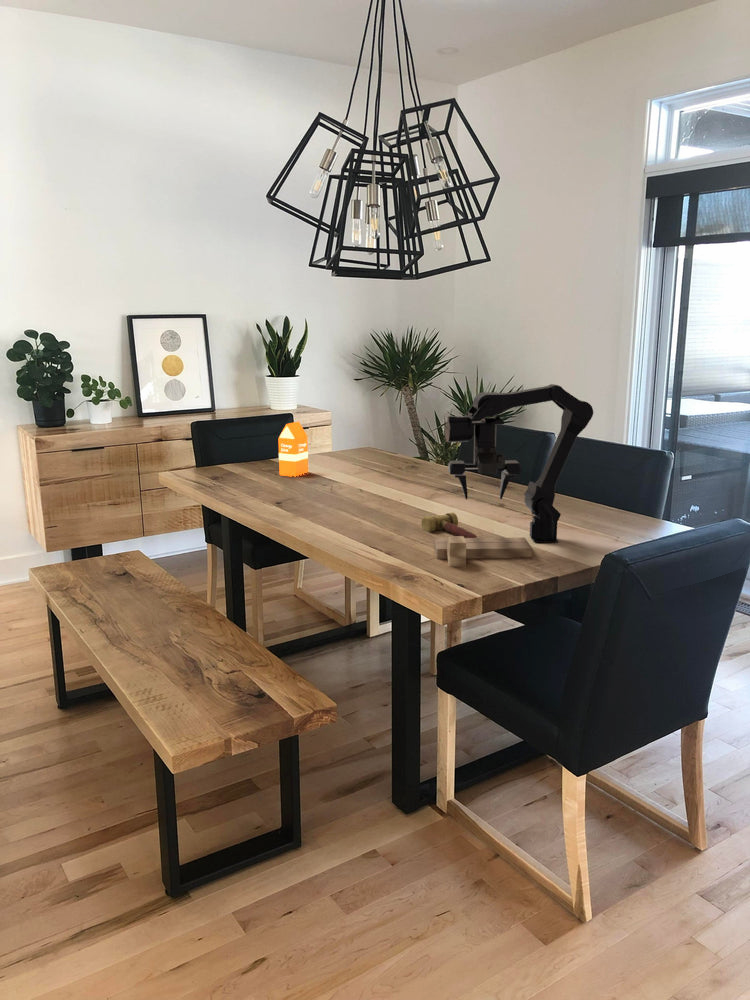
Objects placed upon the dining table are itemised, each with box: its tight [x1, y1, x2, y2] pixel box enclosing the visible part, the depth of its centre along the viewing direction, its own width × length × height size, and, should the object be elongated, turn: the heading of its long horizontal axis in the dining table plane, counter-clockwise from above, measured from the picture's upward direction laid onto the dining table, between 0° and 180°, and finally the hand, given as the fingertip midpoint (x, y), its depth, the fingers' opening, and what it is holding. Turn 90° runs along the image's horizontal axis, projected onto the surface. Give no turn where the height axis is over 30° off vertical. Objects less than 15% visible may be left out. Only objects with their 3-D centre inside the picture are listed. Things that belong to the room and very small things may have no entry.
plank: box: [433, 537, 533, 560], centre depth 210 cm, size 24×10×2 cm, turn 90°
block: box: [447, 535, 467, 567], centre depth 204 cm, size 4×12×6 cm, turn 0°
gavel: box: [420, 512, 478, 538], centre depth 226 cm, size 21×5×10 cm
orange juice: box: [278, 421, 309, 478], centre depth 312 cm, size 8×9×20 cm
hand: (483, 499), depth 216 cm, fingers open, 9 cm apart
